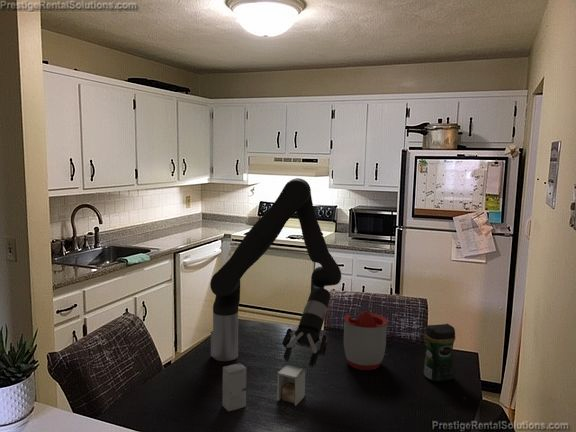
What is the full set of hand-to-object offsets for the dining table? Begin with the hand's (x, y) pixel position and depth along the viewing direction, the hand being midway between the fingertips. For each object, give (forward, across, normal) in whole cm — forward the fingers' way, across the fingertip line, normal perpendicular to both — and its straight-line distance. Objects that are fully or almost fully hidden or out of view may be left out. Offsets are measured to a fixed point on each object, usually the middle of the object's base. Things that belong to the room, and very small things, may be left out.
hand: (298, 363), depth 148 cm
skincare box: (+18, -13, -5) cm, 23 cm away
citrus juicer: (-14, +12, +28) cm, 34 cm away
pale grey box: (+10, 0, +4) cm, 11 cm away
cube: (+10, 0, +4) cm, 11 cm away
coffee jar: (-16, +38, +30) cm, 51 cm away
